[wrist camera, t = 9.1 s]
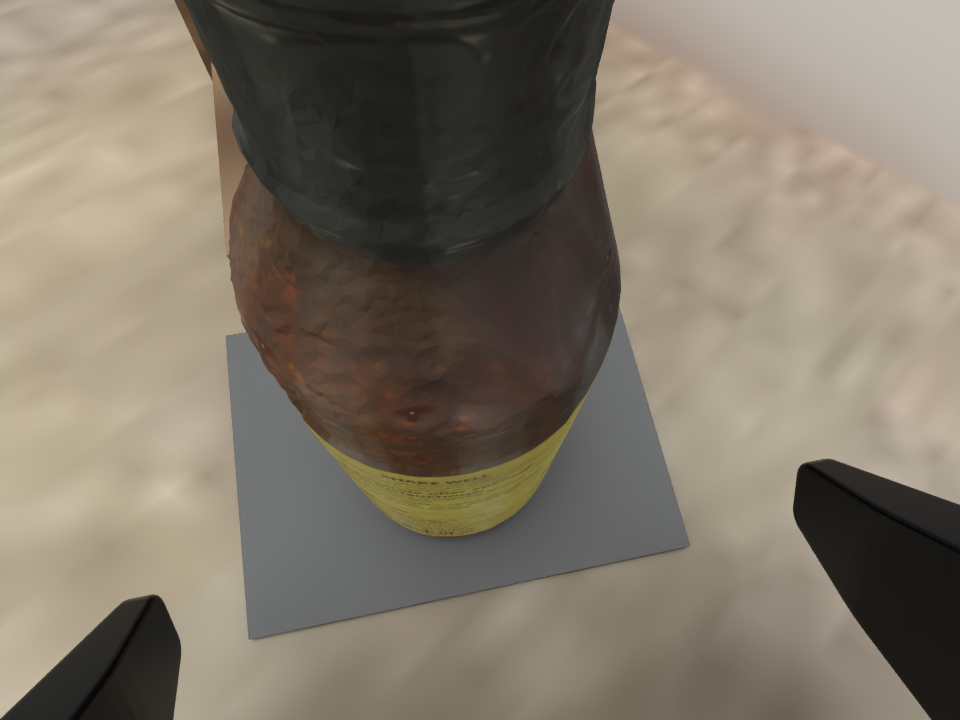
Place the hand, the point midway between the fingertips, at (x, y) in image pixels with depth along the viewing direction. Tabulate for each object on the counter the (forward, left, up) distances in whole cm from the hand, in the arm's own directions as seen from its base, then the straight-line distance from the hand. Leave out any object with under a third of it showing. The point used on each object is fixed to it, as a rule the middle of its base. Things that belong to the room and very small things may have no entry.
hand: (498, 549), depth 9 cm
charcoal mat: (+4, -2, -12) cm, 13 cm away
